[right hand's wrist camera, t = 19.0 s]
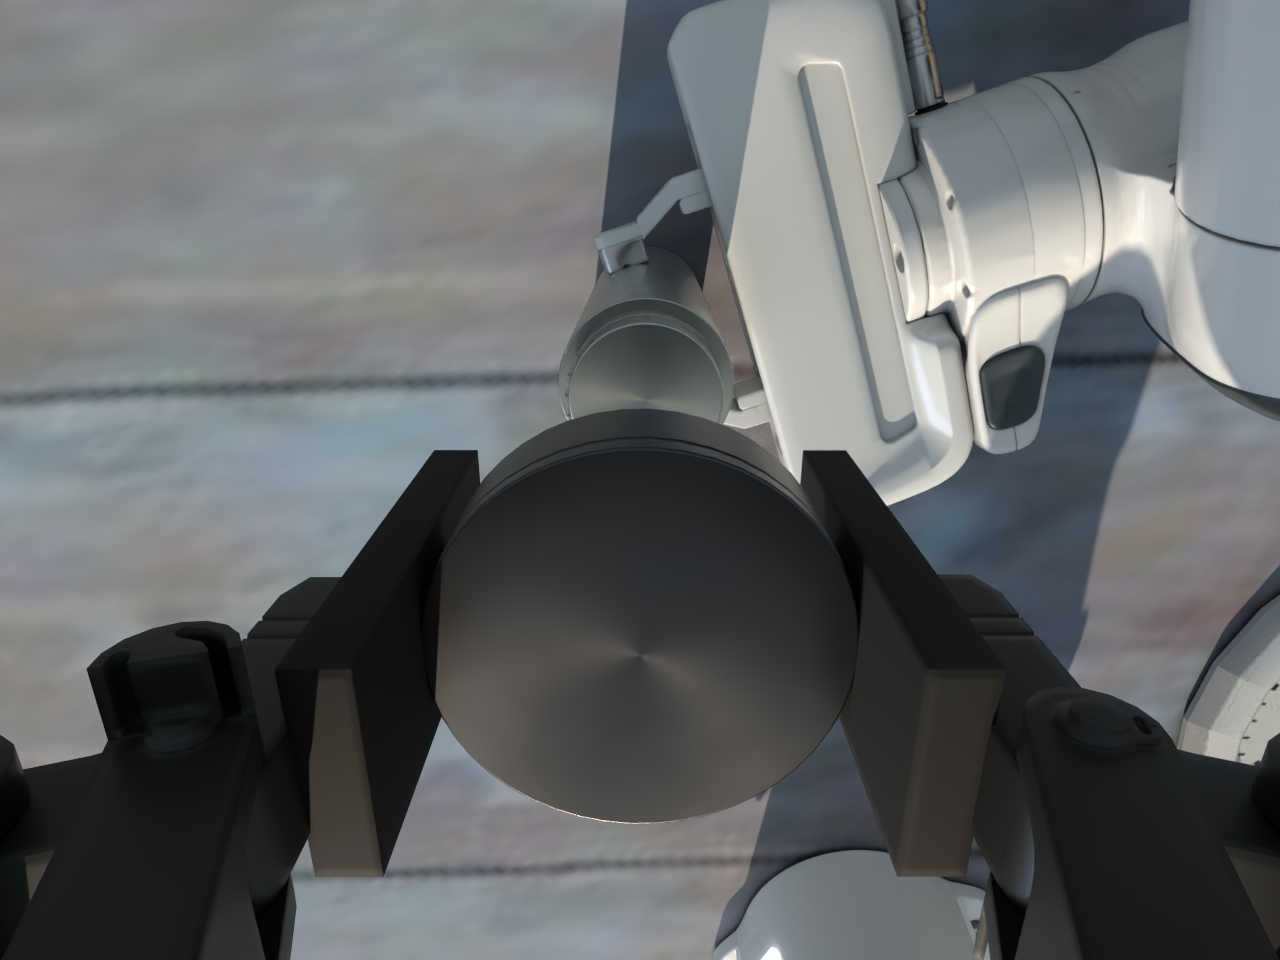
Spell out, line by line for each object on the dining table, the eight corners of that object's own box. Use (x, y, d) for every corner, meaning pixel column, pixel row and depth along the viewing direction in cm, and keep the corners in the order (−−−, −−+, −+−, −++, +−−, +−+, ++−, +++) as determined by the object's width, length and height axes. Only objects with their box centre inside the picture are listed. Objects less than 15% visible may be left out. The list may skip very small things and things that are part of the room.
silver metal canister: (638, 222, 37) (630, 264, 21) (722, 292, 38) (778, 386, 22) (572, 309, 39) (515, 414, 22) (655, 374, 40) (659, 520, 23)
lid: (537, 783, 13) (523, 867, 12) (382, 484, 11) (340, 536, 10) (872, 686, 13) (906, 761, 11) (768, 348, 11) (791, 380, 9)
